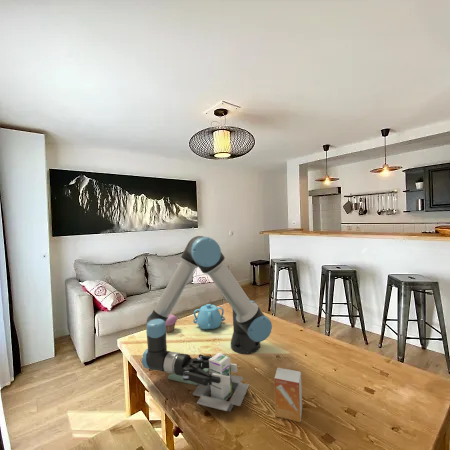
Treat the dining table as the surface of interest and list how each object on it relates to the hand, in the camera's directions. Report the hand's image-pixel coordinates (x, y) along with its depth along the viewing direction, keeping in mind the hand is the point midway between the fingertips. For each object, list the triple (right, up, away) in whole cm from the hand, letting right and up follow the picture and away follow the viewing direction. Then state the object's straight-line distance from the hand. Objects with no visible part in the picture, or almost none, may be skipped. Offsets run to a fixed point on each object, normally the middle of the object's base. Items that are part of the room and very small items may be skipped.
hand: (233, 374), depth 90 cm
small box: (+18, -9, -7) cm, 22 cm away
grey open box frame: (-4, -10, +2) cm, 11 cm away
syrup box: (-4, -9, +2) cm, 10 cm away
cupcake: (-36, -10, +60) cm, 71 cm away
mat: (-18, -10, +18) cm, 27 cm away
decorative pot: (-13, -9, +64) cm, 66 cm away
